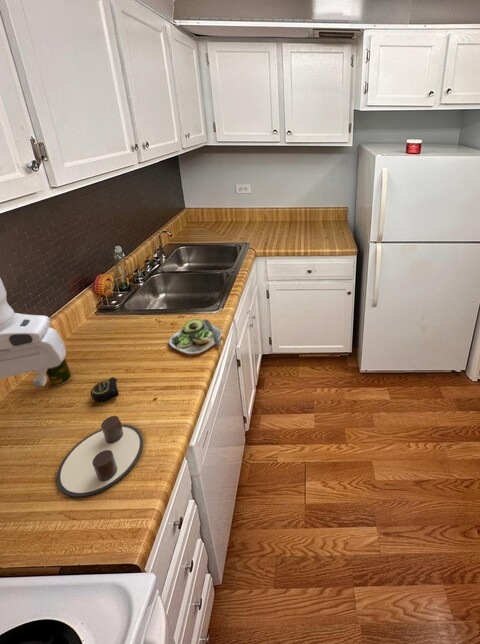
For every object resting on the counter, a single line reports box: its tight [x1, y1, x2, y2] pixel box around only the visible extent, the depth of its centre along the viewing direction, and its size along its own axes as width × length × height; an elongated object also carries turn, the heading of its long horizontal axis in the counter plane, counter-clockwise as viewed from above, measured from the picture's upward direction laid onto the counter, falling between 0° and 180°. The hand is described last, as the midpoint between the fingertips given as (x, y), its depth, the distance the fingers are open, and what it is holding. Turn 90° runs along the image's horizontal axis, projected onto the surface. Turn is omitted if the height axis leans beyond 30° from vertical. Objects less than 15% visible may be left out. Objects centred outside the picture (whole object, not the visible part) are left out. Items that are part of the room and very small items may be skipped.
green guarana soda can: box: [45, 357, 72, 387], centre depth 102 cm, size 5×5×12 cm
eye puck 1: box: [100, 415, 123, 443], centre depth 85 cm, size 4×4×5 cm
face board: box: [56, 424, 144, 499], centre depth 81 cm, size 18×18×1 cm
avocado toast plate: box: [168, 318, 223, 355], centre depth 122 cm, size 19×18×5 cm
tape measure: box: [90, 377, 120, 404], centre depth 98 cm, size 7×7×4 cm
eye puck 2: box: [92, 450, 118, 481], centre depth 76 cm, size 4×4×5 cm
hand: (13, 390), depth 67 cm, fingers open, 8 cm apart
